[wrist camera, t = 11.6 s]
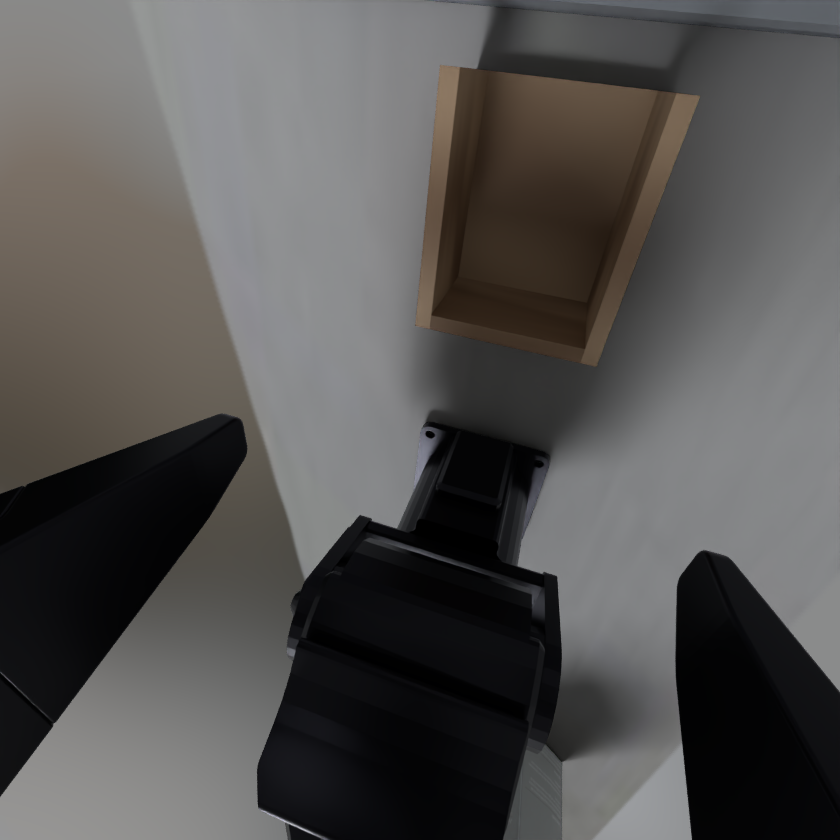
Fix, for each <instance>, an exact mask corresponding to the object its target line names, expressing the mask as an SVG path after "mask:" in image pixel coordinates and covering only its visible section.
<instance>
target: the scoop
mask: <svg viewBox="0 0 840 840" xmlns="http://www.w3.org/2000/svg"><path fill="white" fill-rule="evenodd" d="M699 98H700V96H696V95H689V94H681V93H674V92H665V91H657V90H648V89H640V88H631V87H623V86H615V85H606V84H598V83H589V82H581V81H572V80H564V79H556V78H547V77H539V76H530V75H522V74H513V73H505V72H497V71H488V70H480V69H471V68H462V67H452V66H443V65H440V72H439V82H438V93H437V103H436V114H435V124H434V135H433V145H432V156H431V167H430V177H429V188H428V198H427V209H426V219H425V230H424V240H423V251H422V261H421V272H420V282H419V293H418V303H417V314H416V324H415V326H418V327H423V328H427V329H431V330H436V331H440V332H445V333H449V334H454V335H458V336H462V337H467V338H471V339H476V340H480V341H484V342H489V343H493V344H498V345H502V346H507V347H511V348H515V349H520V350H524V351H529V352H533V353H537V354H542V355H546V356H551V357H555V358H560V359H564V360H568V361H573V362H577V363H582V364H586V365H590V366H595V367H596V366H597V364H598V361H599V359H600V356H601V353H602V351H603V348H604V346H605V343H606V340H607V338H608V335H609V333H610V330H611V327H612V325H613V322H614V320H615V317H616V314H617V312H618V309H619V307H620V304H621V301H622V299H623V296H624V294H625V291H626V288H627V286H628V283H629V281H630V278H631V275H632V273H633V270H634V268H635V265H636V262H637V260H638V257H639V255H640V252H641V249H642V247H643V244H644V242H645V239H646V236H647V234H648V231H649V229H650V226H651V223H652V221H653V218H654V216H655V213H656V210H657V208H658V205H659V202H660V200H661V197H662V195H663V192H664V189H665V187H666V184H667V182H668V179H669V176H670V174H671V171H672V169H673V166H674V163H675V161H676V158H677V156H678V153H679V150H680V148H681V145H682V143H683V140H684V137H685V135H686V132H687V130H688V127H689V124H690V122H691V119H692V117H693V114H694V111H695V109H696V106H697V104H698V101H699Z"/></svg>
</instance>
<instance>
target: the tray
mask: <svg viewBox="0 0 840 840" xmlns="http://www.w3.org/2000/svg"><path fill="white" fill-rule="evenodd" d="M429 1H440V2H451V3H462V4H473V5H484V6H495V7H506V8H517V9H528V10H539V11H550V12H561V13H572V14H583V15H593V16H604V17H615V18H626V19H637V20H648V21H659V22H670V23H681V24H692V25H703V26H714V27H725V28H736V29H747V30H758V31H769V32H780V33H791V34H801V35H812V36H823V37H834V38H840V0H429Z"/></svg>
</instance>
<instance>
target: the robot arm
mask: <svg viewBox="0 0 840 840" xmlns="http://www.w3.org/2000/svg"><path fill="white" fill-rule="evenodd" d="M428 431H432V432H433V433H434V434H431V433H429V432H428ZM246 454H247V443H246V437H245V432H244V426H243V422H242V421H241V419H239V418H238V417H235V416H231V415H227V414H218V415H215V416H212V417H210V418H207V419H204V420H201V421H199V422H196V423H194V424H190V425H188V426H185V427H182V428H180V429H177V430H174V431H171V432H169V433H166V434H163V435H160V436H158V437H155V438H152V439H150V440H147V441H144V442H141V443H138V444H136V445H133V446H130V447H127V448H125V449H122V450H119V451H117V452H114V453H111V454H108V455H106V456H103V457H100V458H97V459H95V460H92V461H89V462H86V463H84V464H81V465H78V466H75V467H73V468H70V469H67V470H64V471H62V472H59V473H56V474H53V475H51V476H48V477H45V478H43V479H40V480H37V481H34V482H32V483H29V484H27V485H26V486H25V487H24V486H20V487H18V488H15V489H12V490H9V491H7V492H4V493H1V494H0V796H1V795H2V794H3V792H4V791H5V790H6V788H7V787H8V786H9V784H10V783H11V782H12V780H13V779H14V778H15V776H16V775H17V774H18V772H19V771H20V770H21V769H22V767H23V766H24V764H25V763H26V762H27V760H28V759H29V758H30V756H31V755H32V754H33V753H34V751H35V750H36V749H37V747H38V746H39V745H40V743H41V742H42V740H43V739H44V738H45V737H46V735H47V734H48V733H49V731H50V730H51V729H52V727H53V723H55V722H56V721H57V720H58V719H59V717H60V716H61V714H62V713H63V712H64V711H65V709H66V708H67V707H68V705H69V704H70V703H71V701H72V700H73V699H74V697H75V696H76V695H77V693H78V692H79V691H80V689H81V688H82V687H83V685H84V684H85V683H86V681H87V680H88V678H89V677H90V676H91V675H92V673H93V672H94V671H95V669H96V668H97V667H98V665H99V664H100V663H101V661H102V660H103V659H104V657H105V656H106V655H107V653H108V652H109V651H110V649H111V648H112V647H113V645H114V644H115V643H116V641H117V640H118V639H119V637H120V636H121V635H122V633H123V632H124V631H125V629H126V628H127V627H128V625H129V624H130V623H131V621H132V620H133V619H134V617H135V616H136V615H137V613H138V612H139V611H140V609H141V608H142V607H143V605H144V604H145V603H146V601H147V600H148V599H149V597H150V596H151V595H152V593H153V592H154V591H155V589H156V588H157V587H158V585H159V584H160V583H161V581H162V580H163V579H164V577H165V576H166V575H167V573H168V572H169V571H170V569H171V568H172V567H173V565H174V564H175V563H176V561H177V560H178V559H179V557H180V556H181V555H182V553H183V552H184V551H185V549H186V548H187V547H188V545H189V544H190V543H191V541H192V540H193V539H194V537H195V536H196V535H197V533H198V532H199V531H200V529H201V528H202V527H203V525H204V524H205V523H206V521H207V520H208V518H209V517H210V515H211V514H212V512H213V511H214V509H215V507H216V506H217V504H218V503H219V501H220V499H221V498H222V496H223V494H224V492H225V491H226V489H227V487H228V486H229V484H230V482H231V481H232V479H233V477H234V476H235V474H236V472H237V471H238V469H239V467H240V466H241V464H242V462H243V461H244V459H245V457H246ZM535 460H541V461H543V462H541V463H539V462H536V461H535ZM549 461H550V458H549V455H548V454H547V453H545V452H543V451H540V450H536V449H532V448H529V447H525V446H521V445H517V444H513V443H510V442H506V441H502V440H498V439H494V438H491V437H487V436H483V435H479V434H475V433H472V432H468V431H464V430H460V429H456V428H453V427H449V426H445V425H441V424H437V423H434V422H428V423H426V424H424V426H423V428H422V430H421V433H420V442H419V450H418V458H417V466H416V475H415V483H414V491H413V494H412V496H411V498H410V501H409V503H408V505H407V507H406V510H405V512H404V514H403V516H402V519H401V521H400V523H399V525H398V528H397V529H396V528H393V527H390V526H386V525H383V524H380V523H377V522H374V521H372V519H371V518H368V517H365V516H361V515H359V517H358V518H357V519H356V520H355V522H354V523H353V524H352V525H351V526H350V527H348V528H347V529H346V531H345V532H344V533H343V534H342V536H341V537H340V538H339V539H338V541H337V542H336V543H335V544H334V545H333V547H332V548H331V549H330V550H329V552H328V553H327V554H326V555H325V557H324V558H323V559H322V560H321V562H320V563H319V564H318V565H317V567H316V568H315V569H314V570H313V572H312V573H311V574H310V575H309V576H308V578H307V579H306V580H305V582H304V584H303V587H302V589H301V590H300V591H299V592H297V593H296V594H295V596H294V598H293V600H292V603H291V611H292V614H293V620H292V623H291V627H290V631H289V635H288V642H287V655H288V657H289V659H290V660H293V664H292V668H291V673H290V676H289V679H288V683H287V686H286V689H285V692H284V696H283V699H282V702H281V705H280V708H279V710H278V713H277V716H276V718H275V721H274V724H273V726H272V729H271V732H270V734H269V737H268V739H267V742H266V745H265V747H264V750H263V752H262V755H261V757H260V760H259V763H258V769H257V791H258V808H259V810H260V811H262V812H264V813H266V814H268V815H271V816H273V817H275V818H278V819H279V820H282V821H284V822H285V825H286V831H287V836H288V840H503V838H504V835H505V832H506V829H507V825H508V821H509V817H510V813H511V809H512V805H513V801H514V797H515V792H516V788H517V784H518V780H519V776H520V772H521V768H522V764H523V760H524V756H525V751H526V750H528V751H531V752H533V753H536V754H538V753H540V752H541V751H542V749H543V747H544V745H545V743H546V741H547V738H548V735H549V732H550V729H551V725H552V722H553V718H554V713H555V709H556V704H557V698H558V692H559V685H560V676H561V662H562V647H561V631H560V615H559V598H558V582H557V576H555V575H552V574H549V573H545V572H543V574H541V573H538V572H534V571H531V570H528V569H525V568H521V567H518V566H517V565H518V559H519V553H520V547H521V540H522V538H523V536H524V533H525V530H526V528H527V525H528V522H529V520H530V517H531V514H532V511H533V509H534V506H535V503H536V500H537V498H538V495H539V492H540V489H541V487H542V484H543V481H544V479H545V476H546V473H547V470H548V468H549ZM675 663H676V685H677V695H678V705H679V715H680V725H681V735H682V745H683V755H684V765H685V775H686V784H687V795H688V804H689V814H690V824H691V834H692V840H840V692H839V690H838V689H837V688H836V687H835V686H834V684H833V683H832V682H831V681H830V679H829V678H828V677H827V676H826V675H825V673H824V672H823V671H822V670H821V668H820V667H819V666H818V665H817V664H816V662H815V661H814V660H813V659H812V657H811V656H810V655H809V654H808V653H807V652H806V650H805V649H804V648H803V647H802V645H801V644H800V643H799V642H798V640H797V639H796V638H795V637H794V635H793V634H792V633H791V632H790V631H789V629H788V628H787V627H786V626H785V624H784V623H783V622H782V621H781V620H780V618H779V617H778V616H777V615H776V613H775V612H774V611H773V610H772V609H771V607H770V606H769V605H768V604H767V602H766V601H765V600H764V599H763V598H762V596H761V595H760V594H759V593H758V591H757V590H756V589H755V588H754V587H753V585H752V584H751V583H750V582H749V580H748V579H747V578H746V577H745V576H744V574H743V573H742V572H741V571H740V570H739V568H738V567H737V566H736V565H735V563H734V562H733V561H732V560H731V559H730V558H729V557H727V556H724V555H721V554H717V553H714V552H710V551H707V550H703V551H700V552H699V553H698V554H697V555H696V556H695V557H694V559H693V560H692V561H691V563H690V564H689V565H688V567H687V568H686V569H685V571H684V572H683V573H682V574H681V576H680V578H679V580H678V584H677V605H676V655H675Z"/></svg>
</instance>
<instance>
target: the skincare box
mask: <svg viewBox="0 0 840 840" xmlns="http://www.w3.org/2000/svg"><path fill="white" fill-rule="evenodd" d="M503 840H562V762H561V761H560V760H559V759H558V758H557V756H556V755H555V754H554V753H553V752H552V751H551V750H550V748H549V747H548V746H547V745H546V744H545V745H544V747H543V749H542V751H541V752H540V753H538V754H536V753H533V752H531V751H528V750H526V751H525V756H524V760H523V764H522V768H521V772H520V776H519V780H518V784H517V788H516V792H515V797H514V801H513V805H512V809H511V813H510V817H509V821H508V825H507V829H506V832H505V835H504V838H503Z"/></svg>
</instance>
